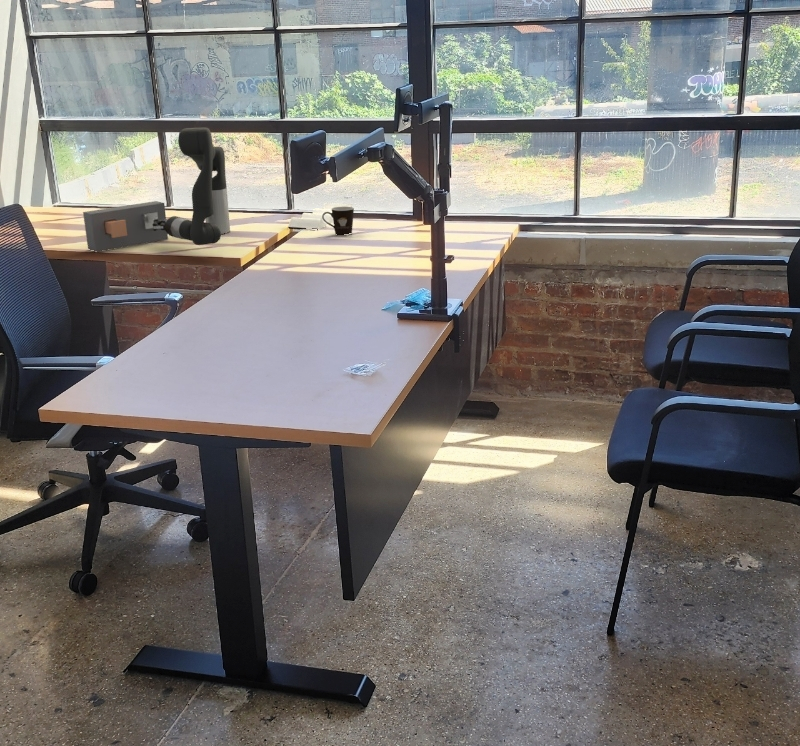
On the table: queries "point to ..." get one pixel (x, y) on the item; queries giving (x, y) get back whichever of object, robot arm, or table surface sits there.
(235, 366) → the table surface
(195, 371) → the table surface
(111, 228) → the terracotta plunger
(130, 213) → the press panel
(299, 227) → the file organizer
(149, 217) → the grey plunger
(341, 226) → the coffee mug
